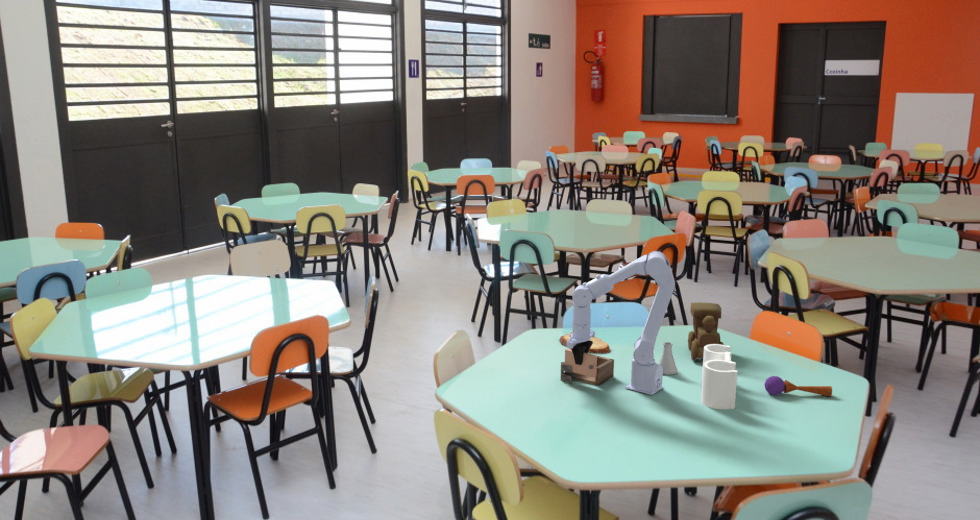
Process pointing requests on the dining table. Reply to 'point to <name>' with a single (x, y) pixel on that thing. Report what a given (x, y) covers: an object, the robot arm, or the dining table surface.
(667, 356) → the flask
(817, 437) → the dining table surface
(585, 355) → the door
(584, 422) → the dining table surface
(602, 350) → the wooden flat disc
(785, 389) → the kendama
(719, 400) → the bracket
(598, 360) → the cabinet
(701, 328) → the wooden toy train
